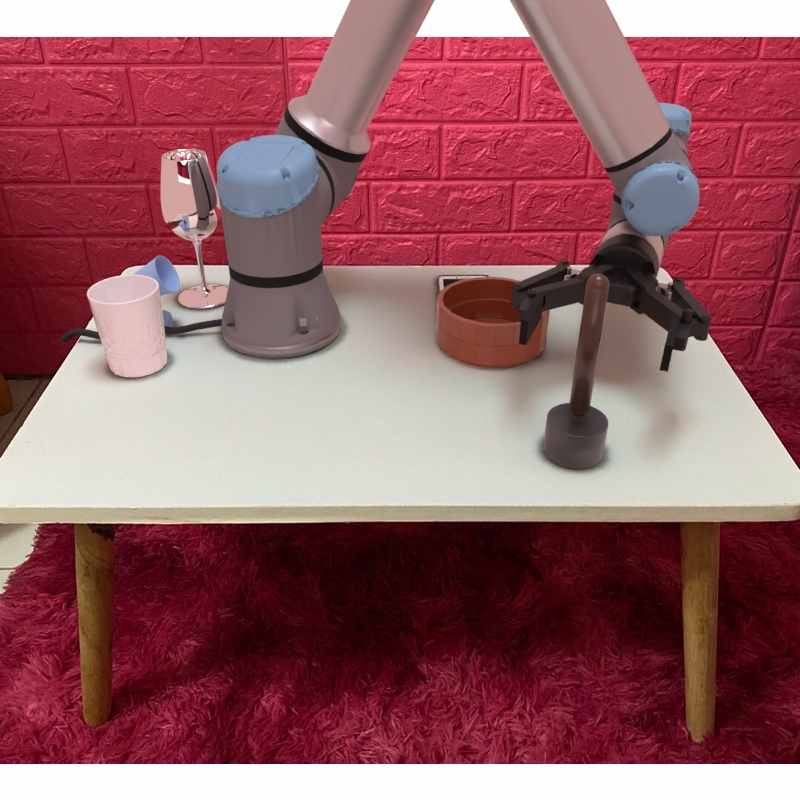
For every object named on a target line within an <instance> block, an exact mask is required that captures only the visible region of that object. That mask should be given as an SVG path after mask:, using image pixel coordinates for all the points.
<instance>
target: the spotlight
mask: <svg viewBox="0 0 800 800" xmlns="http://www.w3.org/2000/svg"><path fill="white" fill-rule="evenodd" d="M132 275H143V276H148V277H151V278H153V279H155V280H156V281H157V282H158V284H159V290H160V297H162V296H166V295H171V294H175V293H178V292H179V291H180V288H181V282H180V277H179V274H178V271H177V270H176V267H175V266H174V265H173V263H172V262H171V261H170V260H169V259H168V258H167V257H166V256H163V255H157V256H155V257H154V258H153V259H152V260H151V261H149V262H148V263H146V264H145V265H143V266H142V267H141V268H139V269H138V270H137V271H136V272H134V273H133V274H132ZM162 312H163V319H164V327H165V326H167V327H175V326H174V321H173V316H172V312H170V311H168V310H165V309H162ZM165 335H167V334H166V333H165Z"/></svg>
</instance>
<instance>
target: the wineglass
mask: <svg viewBox="0 0 800 800" xmlns="http://www.w3.org/2000/svg"><path fill="white" fill-rule="evenodd" d="M160 161H161V162H160V163H161V164H160V186H159V187H160V189H159V192H160V193H159V194H160V195H159V197H160V198H159V199H160V209H161V213H162V218H163V220H164V222H165V224H166V226H167V228H168V229H169V230H170V231H171V232H172V233H173V234H174V235H176V236H178V237H179V238H181V239H183V240H186V241H188V242H191V243H192V244H193V247H194V250H195V255H196V259H197V265H198V266H197V267H198V272H199V280H200V283H199V285H195V286H192V287H189V288H187V289H185V290H183V291H182V292H181V293H180V294H179V296H177V300H178V301H177V302H178V303H179V304H180V305H181V306H184V307H186V308H190V309H197V310H198V309H199V310H201V309H202V310H203V309H204V310H205V309H212V308H216V307H220V306H222V305H225V301H226V296H227V291H228V286H225V285H221V284H214V283H213V284H211V283H209V284H208V282H207V280H206V273H205V266H204V259H203V253H202V247H203V246H202V244H203V241H204V240H206V239H208V238H209V237H211V236H212V235H213V234H214V233H215V232H216V231H217V230H218V229H219V228H218V227H219V226H220V225H221V222H222V216H221V209H220V202H219V198H218V194H217V188H216V185H217V179H216V177H215V174H214V172H213V168H212V166H211V164H210V160H209V158H208V155H207V153H206V151H204V150H202V149H196V148H182V149H181V148H180V149H175V150H170V151H167V152H165V153H163V154H162V155H161V160H160Z"/></svg>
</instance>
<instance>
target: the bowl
mask: <svg viewBox="0 0 800 800" xmlns="http://www.w3.org/2000/svg"><path fill="white" fill-rule="evenodd" d="M520 281H521V280H518V279H514V278H509V277H499V276H489V277H476V278H470V279H464V280H459V281H457V282H454V283H452V284H449V285H447V286H446V287H445V288H444V289H442V290H441V291H440V292H439V291H438V295H437V297H436V310H435V311H436V314H435V317H436V318H435V338H436V342H437V345H438V346H439V347H440V348H441V349H442V350H443V351H444V352H445V353H446V354H447V355H448V356H450V357H451V358H453V359H455V360H457V361H458V362H461V363H464V364H467V365H470V366H473V367H478V368H479V367H480V368H486V369H487V368H489V369H501V368H503V369H505V368H511V367H512V368H513V367H517V366H520V365H523V364H526V363H529V362H531V361H532V360H533V359H534V358H536V357H538V356H540V354H541V353H542V352H543V351H544V350H545V349H546V347H547V339H548V330H549V321H550V313H551V310H547V311H543V312H542V317H541V319H540V321H539V323H538V325H537V327H536V328H535V330H534V332H533V334H532V336H531V337H530V339H529V341H528V343H527V345H522V344H519V336H520V325H521V322H519V321H518V314H519V308H518V309H516V308H512V307H511V298H512V287H513V284H515V283H518V282H520Z"/></svg>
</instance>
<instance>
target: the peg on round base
mask: <svg viewBox="0 0 800 800" xmlns="http://www.w3.org/2000/svg"><path fill="white" fill-rule="evenodd" d="M608 291H609V280H608V278H607V277H606V276H605V275H603V274H599V273H597V274H594V275H592V276H590V277H589V279H588V280H587V283H586V290H585V297H584V304H583V305H582V311H581V319H580V327H579V333H578V340H577V345H576V346H577V349H576V353H575V354H576V355H575V362H574V369H573V376H572V383H571V390H570V397H569V402H565V403H559V404H557V405H554V406H552V407H551V408H550V409H549V411H548V412H547V415H546V420H545V428H544V429H545V430H544V437H543V445H542V447H543V448H542V450H543V453H544V455H545V456H546V458H547V459H548V460H549V461H550V462H552V463H553V464H555V465H558V466H560V467H563V468H566V469H571V470H585V469H590V468H593V467H595V466H597V465H598V464H599V463H601V461H602V459H603V456H604V451H605V445H606V439H607V436H608V435H607V434H608V430H609V420H608V419H609V418H608V417H607V416H606V415H605V413H604V412H602V410H600V409H598V408H597V407H594V406H592V405H591V404H592V398H593V397H592V396H593V392H594V385H595V378H596V371H597V366H598V360H599V353H600V346H601V340H602V334H603V328H604V323H605V316H606V309H607V304H608V303H607V297H608Z"/></svg>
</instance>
